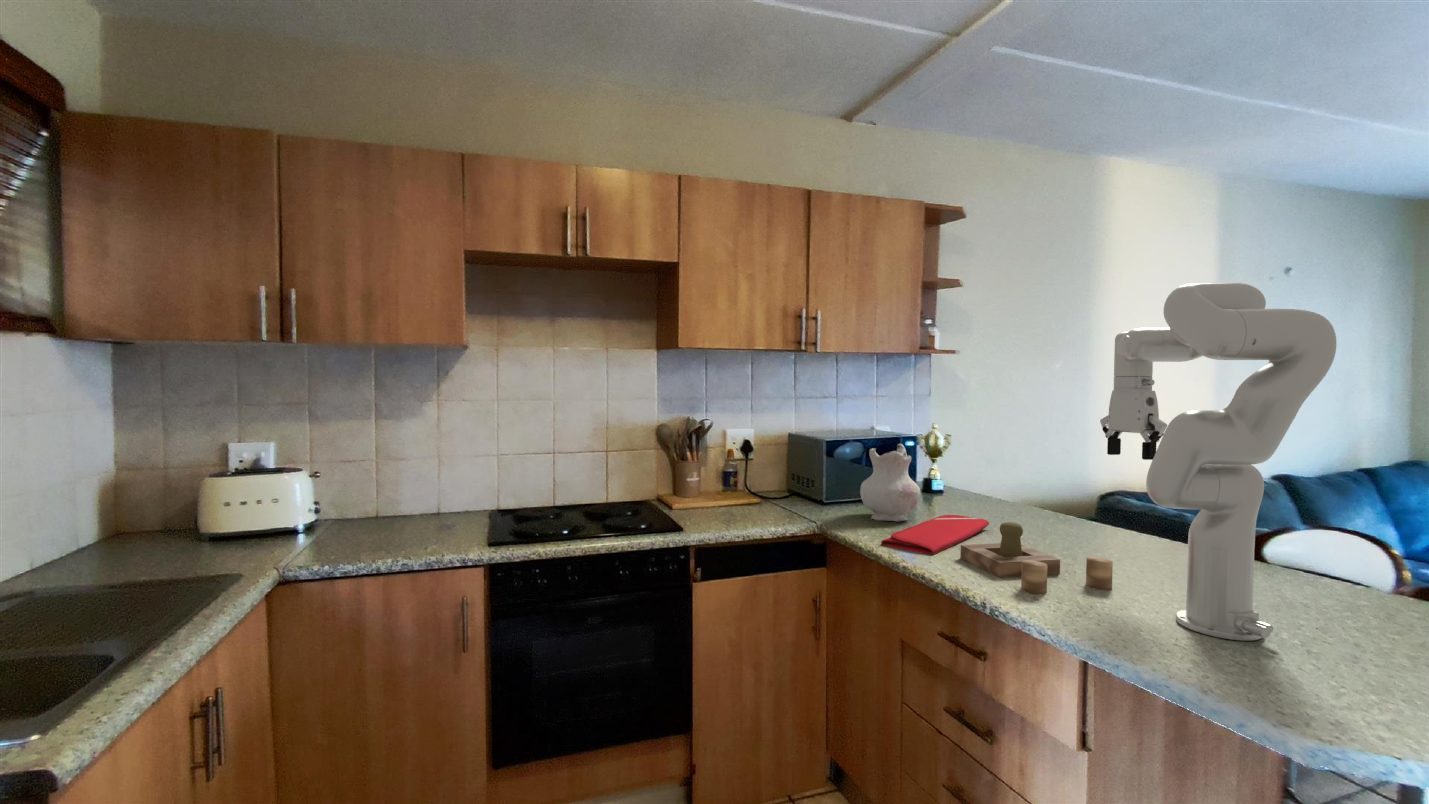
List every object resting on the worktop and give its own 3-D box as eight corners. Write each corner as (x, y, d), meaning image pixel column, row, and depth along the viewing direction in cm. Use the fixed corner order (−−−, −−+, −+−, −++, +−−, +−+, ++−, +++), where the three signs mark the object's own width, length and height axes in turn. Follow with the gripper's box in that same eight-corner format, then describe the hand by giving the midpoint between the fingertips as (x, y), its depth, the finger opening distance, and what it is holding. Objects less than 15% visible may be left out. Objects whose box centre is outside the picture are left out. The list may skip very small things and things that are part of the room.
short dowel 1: (1052, 593, 133) (1052, 566, 133) (1031, 595, 132) (1032, 567, 132) (1035, 586, 138) (1036, 559, 138) (1016, 587, 137) (1016, 560, 137)
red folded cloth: (879, 546, 173) (879, 533, 173) (941, 523, 203) (941, 512, 203) (933, 557, 163) (934, 543, 162) (990, 531, 192) (990, 519, 192)
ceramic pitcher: (870, 512, 223) (865, 443, 223) (926, 513, 214) (921, 441, 214) (856, 524, 203) (851, 449, 203) (917, 526, 195) (912, 447, 195)
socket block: (1059, 573, 147) (1060, 559, 147) (999, 577, 144) (1000, 562, 144) (1015, 555, 163) (1015, 542, 163) (960, 558, 160) (960, 545, 160)
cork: (1027, 571, 149) (1027, 526, 149) (1000, 569, 150) (1000, 524, 150) (1020, 564, 155) (1021, 521, 155) (994, 562, 156) (995, 519, 156)
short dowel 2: (1117, 589, 136) (1118, 562, 136) (1098, 590, 135) (1098, 563, 135) (1099, 582, 141) (1100, 556, 141) (1080, 583, 140) (1081, 557, 140)
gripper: (1180, 384, 137) (1178, 461, 137) (1116, 384, 154) (1114, 452, 154) (1151, 384, 136) (1149, 461, 136) (1089, 384, 153) (1088, 453, 153)
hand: (1130, 456), depth 145 cm, fingers open, 9 cm apart
